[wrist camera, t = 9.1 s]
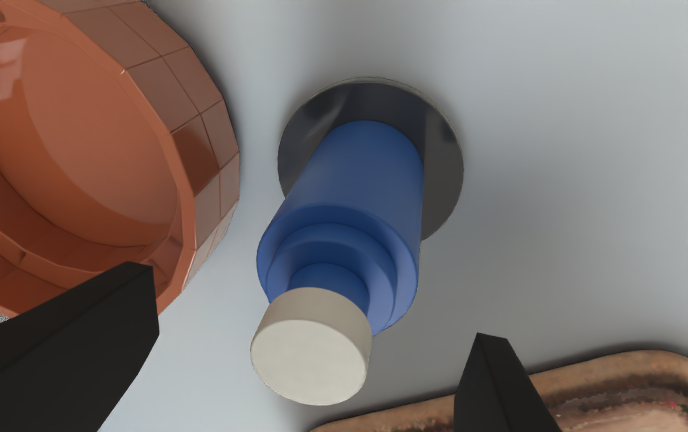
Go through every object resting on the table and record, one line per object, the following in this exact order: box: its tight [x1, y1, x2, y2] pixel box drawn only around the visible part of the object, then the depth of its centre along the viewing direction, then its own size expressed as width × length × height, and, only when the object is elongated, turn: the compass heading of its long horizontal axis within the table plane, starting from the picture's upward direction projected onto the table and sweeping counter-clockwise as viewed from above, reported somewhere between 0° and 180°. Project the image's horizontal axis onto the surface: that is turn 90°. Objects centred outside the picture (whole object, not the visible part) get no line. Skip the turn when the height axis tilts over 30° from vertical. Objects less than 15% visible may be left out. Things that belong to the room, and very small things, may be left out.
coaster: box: [278, 77, 464, 242], centre depth 18 cm, size 7×7×1 cm
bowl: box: [0, 0, 240, 318], centre depth 18 cm, size 13×13×4 cm
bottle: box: [250, 120, 424, 406], centre depth 13 cm, size 4×4×10 cm
